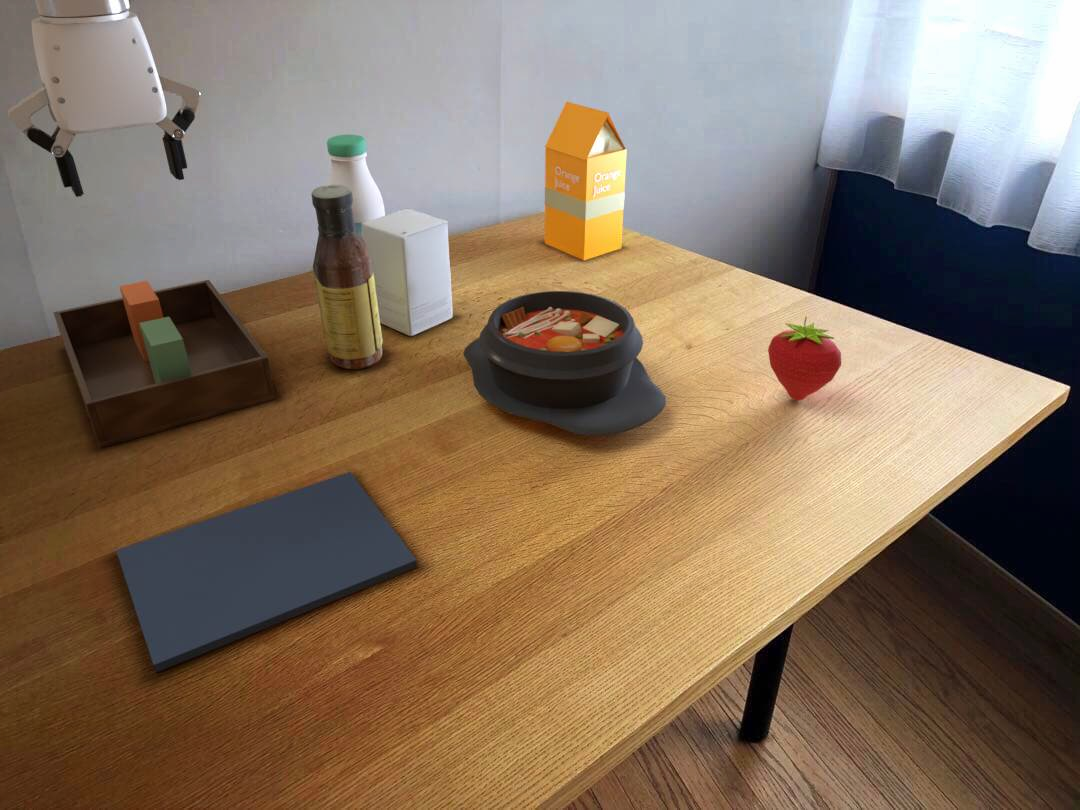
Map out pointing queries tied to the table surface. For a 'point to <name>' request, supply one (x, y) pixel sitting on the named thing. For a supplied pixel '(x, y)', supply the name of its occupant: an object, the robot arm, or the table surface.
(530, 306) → the casserole
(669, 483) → the table surface
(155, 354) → the block
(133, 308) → the block
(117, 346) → the tray
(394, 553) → the mat
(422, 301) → the white packaging box
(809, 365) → the strawberry
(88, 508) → the table surface
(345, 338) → the sauce bottle
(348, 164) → the milk bottle
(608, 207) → the orange juice
